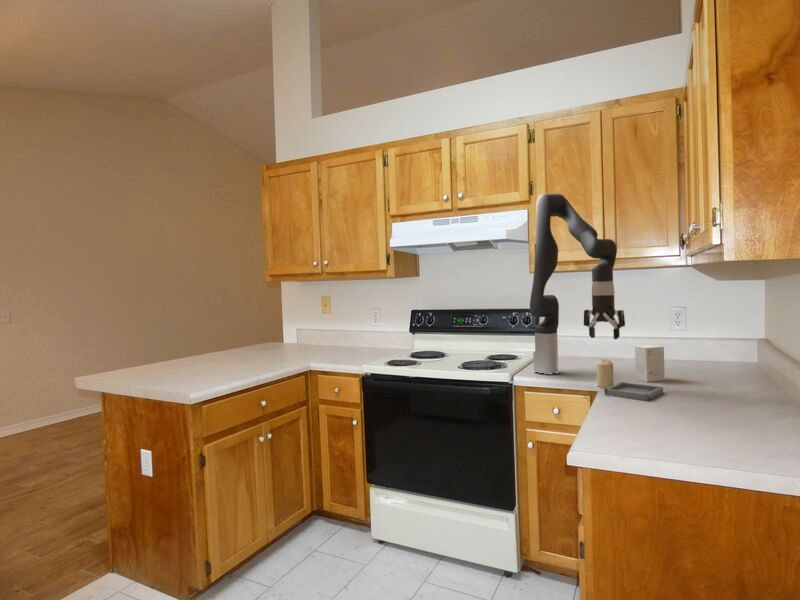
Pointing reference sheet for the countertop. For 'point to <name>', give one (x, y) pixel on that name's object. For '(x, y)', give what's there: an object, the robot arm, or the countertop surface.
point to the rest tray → (634, 391)
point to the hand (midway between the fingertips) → (604, 338)
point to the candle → (605, 373)
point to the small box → (649, 363)
